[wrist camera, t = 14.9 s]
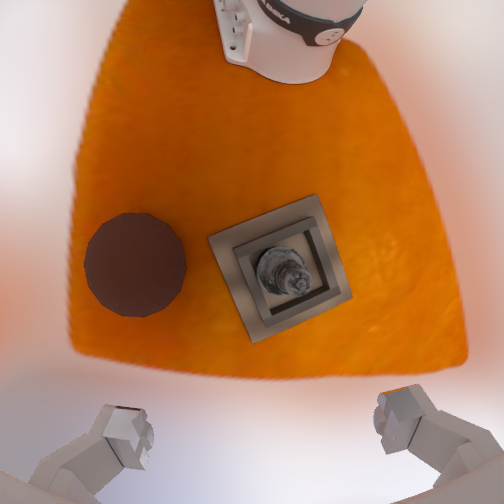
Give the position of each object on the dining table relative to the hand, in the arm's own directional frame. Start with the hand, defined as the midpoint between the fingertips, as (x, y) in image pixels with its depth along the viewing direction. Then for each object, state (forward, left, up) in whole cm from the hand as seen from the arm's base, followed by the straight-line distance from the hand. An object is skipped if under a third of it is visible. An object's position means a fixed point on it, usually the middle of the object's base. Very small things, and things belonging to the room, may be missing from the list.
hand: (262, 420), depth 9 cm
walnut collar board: (+2, +8, -30) cm, 31 cm away
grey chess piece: (+1, +7, -29) cm, 30 cm away
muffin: (-6, -8, -30) cm, 32 cm away
